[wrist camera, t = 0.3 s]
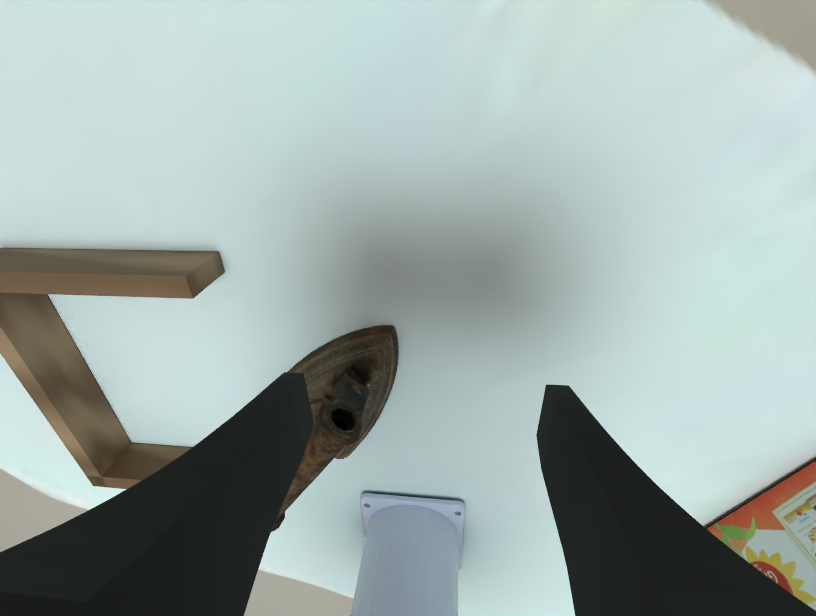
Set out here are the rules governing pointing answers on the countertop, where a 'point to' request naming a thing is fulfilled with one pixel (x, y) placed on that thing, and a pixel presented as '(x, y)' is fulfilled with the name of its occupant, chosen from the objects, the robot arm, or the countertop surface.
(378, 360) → the clothes iron
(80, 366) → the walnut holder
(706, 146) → the countertop surface
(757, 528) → the cracker box
